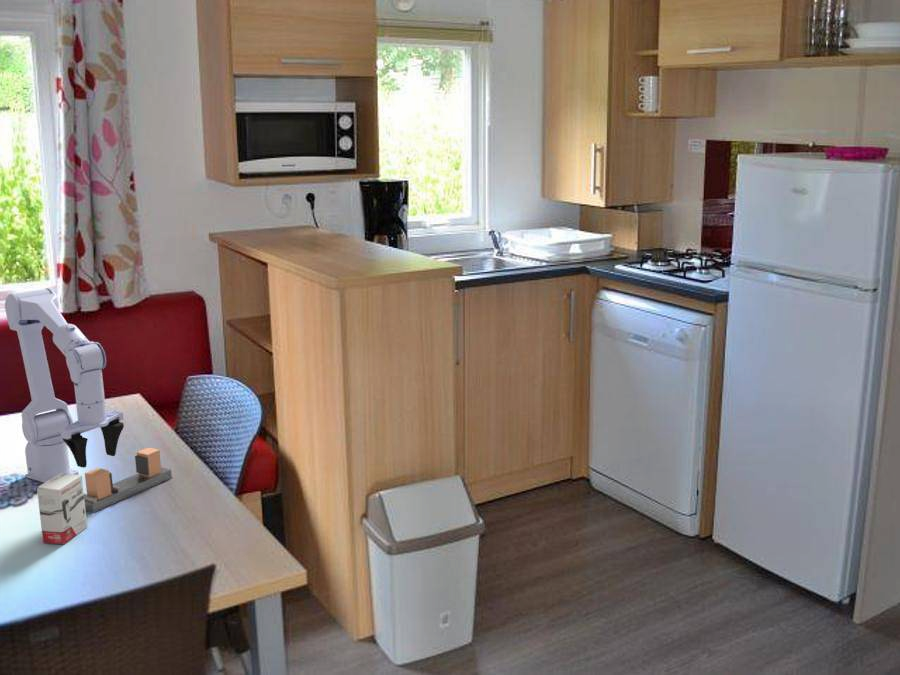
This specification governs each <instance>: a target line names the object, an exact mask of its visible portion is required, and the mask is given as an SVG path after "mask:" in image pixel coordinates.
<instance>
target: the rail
mask: <svg viewBox="0 0 900 675" xmlns="http://www.w3.org/2000/svg"><path fill="white" fill-rule="evenodd" d="M172 475H173V474H172V470H171V469H169V468H165V467H161V473H159V474H157V475H154V476H152V477H150V478H149V477H146V476H142V475H139V473H136V474H134V475H130V476H129V477H127V478H124V479H122V480H120V481H117V482H115V483H113V490H112V491H111V495H109V496H106V497H104V498H102V499H99V500H97V497H94V496H90V495H87V493H84V501H85V510H86V512H87V511H88V512H91V513H95V512H98V511H100V510H102V509H104V508H107V507H109V506H112V505H114V504H116V503H119V502H121V501H123V500H125V499H128V498H129V497H133V496H134V495H137V494H138V493H141V492H143V491H145V490H147V489H150V488H152V487H154V486H157V485H159V484H161V483H163V482H166V481H168V480H170V479H173V478H172Z"/></svg>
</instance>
